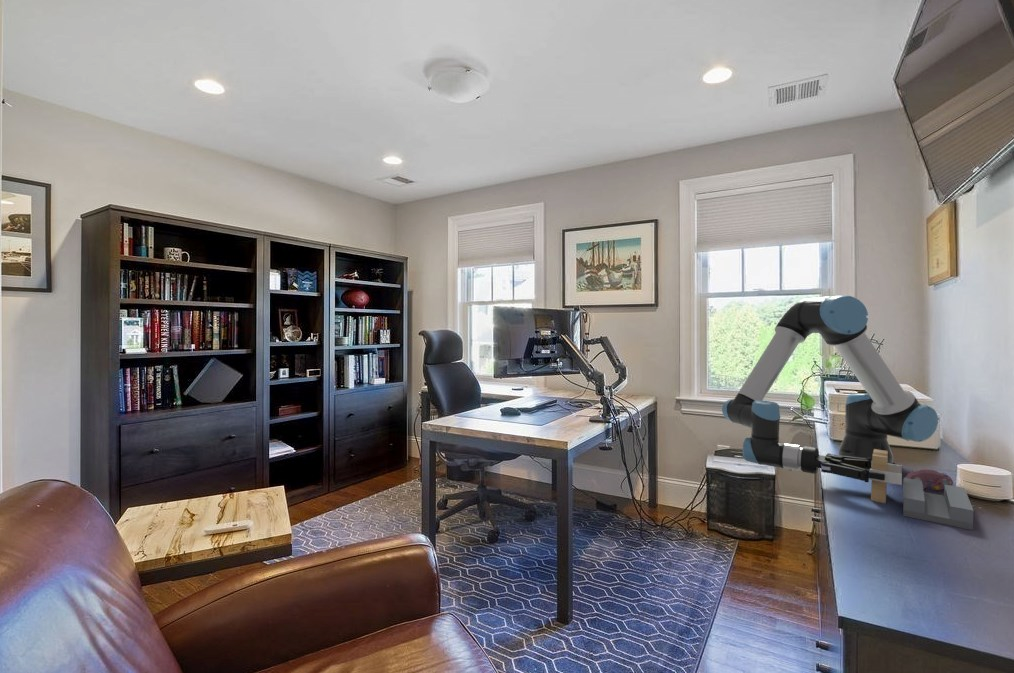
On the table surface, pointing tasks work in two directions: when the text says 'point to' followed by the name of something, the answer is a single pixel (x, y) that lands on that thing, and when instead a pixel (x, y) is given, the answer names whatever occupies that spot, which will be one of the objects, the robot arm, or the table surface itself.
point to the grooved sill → (937, 505)
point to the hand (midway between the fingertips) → (901, 474)
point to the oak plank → (877, 486)
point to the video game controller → (931, 478)
